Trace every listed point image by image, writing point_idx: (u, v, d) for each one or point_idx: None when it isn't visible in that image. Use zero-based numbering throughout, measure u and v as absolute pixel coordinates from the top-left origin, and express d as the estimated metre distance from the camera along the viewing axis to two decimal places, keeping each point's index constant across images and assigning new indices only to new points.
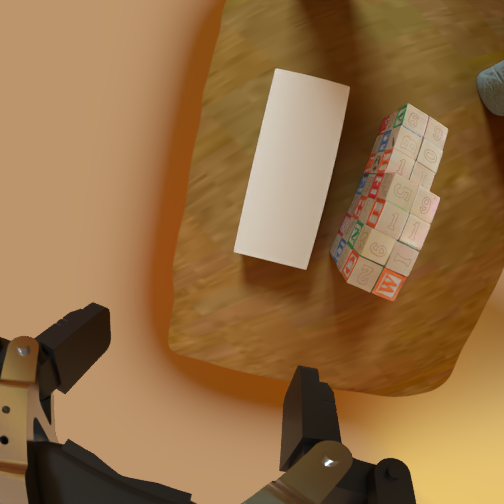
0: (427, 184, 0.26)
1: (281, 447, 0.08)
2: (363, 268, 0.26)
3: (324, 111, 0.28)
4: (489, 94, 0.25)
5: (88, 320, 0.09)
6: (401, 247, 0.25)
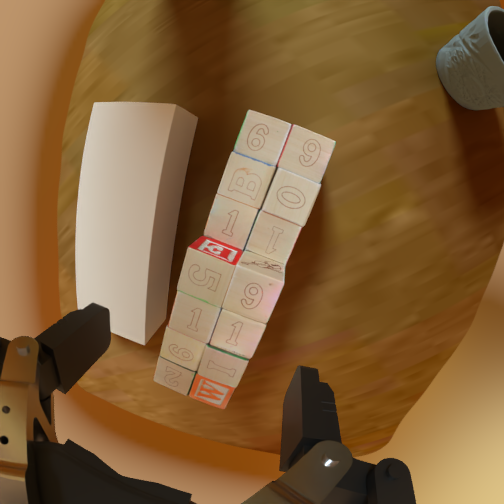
0: (284, 247, 0.18)
1: (281, 447, 0.08)
2: (167, 370, 0.19)
3: (139, 149, 0.21)
4: (454, 77, 0.17)
5: (88, 320, 0.09)
6: (214, 354, 0.18)
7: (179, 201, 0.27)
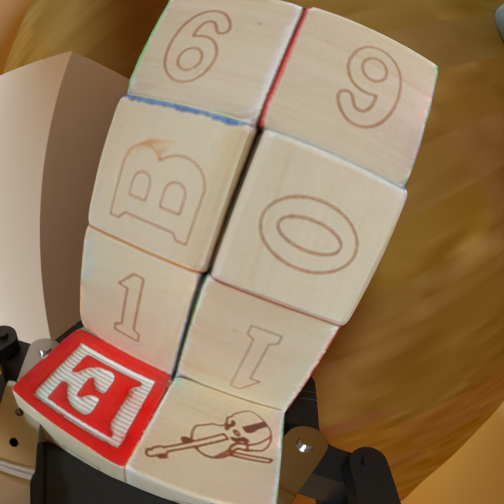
0: (284, 378, 0.06)
1: None
2: None
3: (19, 142, 0.08)
4: None
5: None
6: None
7: None
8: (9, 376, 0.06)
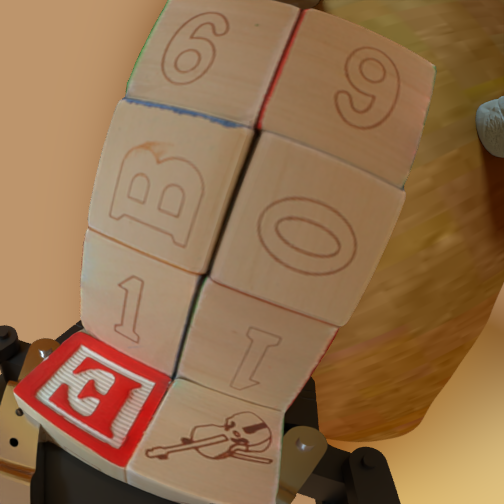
0: (283, 379, 0.06)
1: None
2: None
3: None
4: (490, 134, 0.23)
5: None
6: None
7: None
8: (9, 376, 0.06)
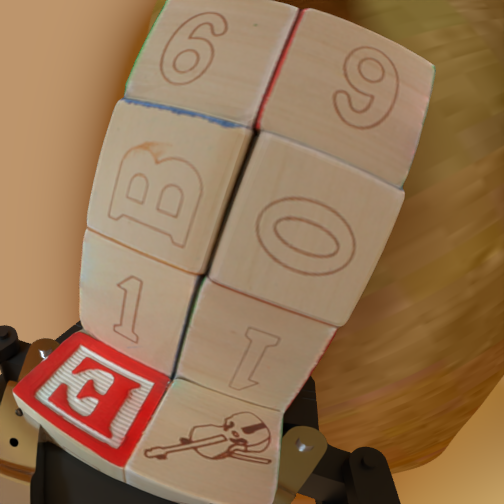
0: (282, 379, 0.06)
1: None
2: None
3: None
4: None
5: None
6: None
7: None
8: (9, 376, 0.06)
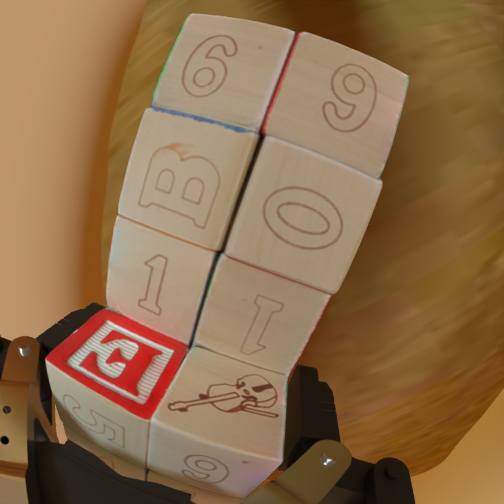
0: (286, 342, 0.07)
1: None
2: None
3: None
4: None
5: None
6: None
7: None
8: None
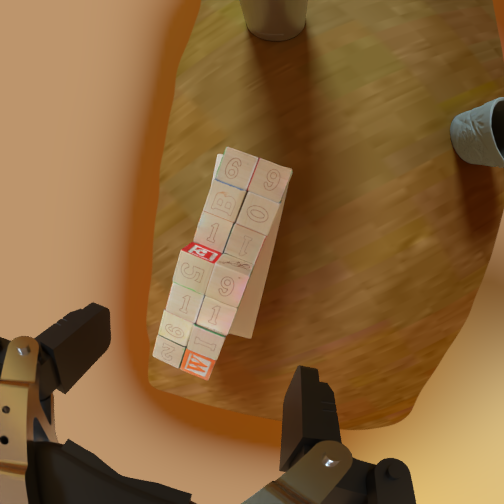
0: (253, 251, 0.24)
1: (281, 447, 0.08)
2: (164, 346, 0.25)
3: None
4: (462, 144, 0.29)
5: (88, 320, 0.09)
6: (199, 331, 0.23)
7: None
8: None
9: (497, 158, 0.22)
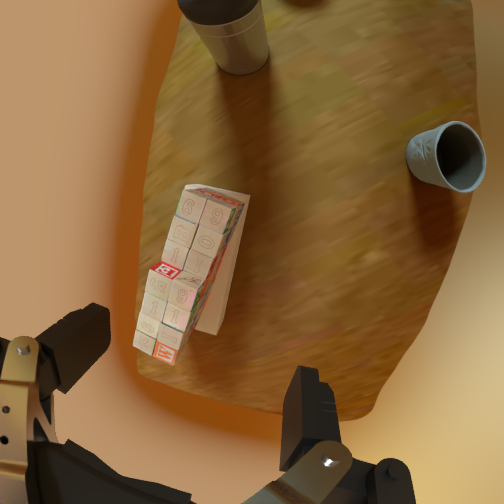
0: (204, 270, 0.32)
1: (281, 447, 0.08)
2: (140, 338, 0.32)
3: None
4: (415, 166, 0.37)
5: (88, 320, 0.09)
6: (165, 328, 0.31)
7: (238, 247, 0.46)
8: None
9: (442, 182, 0.30)
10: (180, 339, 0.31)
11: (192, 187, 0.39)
